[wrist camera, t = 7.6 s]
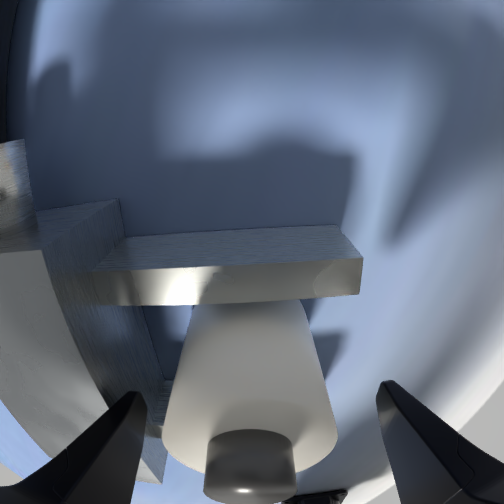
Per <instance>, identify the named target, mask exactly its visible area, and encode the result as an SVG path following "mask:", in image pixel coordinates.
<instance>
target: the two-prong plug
mask: <svg viewBox="0 0 504 504" xmlns="http://www.w3.org/2000/svg"><path fill="white" fill-rule="evenodd" d="M362 266H363V256H362V255H361V254H360V253H359V252H358V250H357V249H356V248H355V247H354V246H353V244H352V243H351V242H350V241H349V240H348V238H347V237H346V236H345V235H344V234H343V233H342V231H341V230H340V229H339V228H338V227H337V226H336V225H317V226H295V227H275V228H256V229H238V230H222V231H206V232H191V233H176V234H162V235H149V236H136V237H125V232H124V227H123V222H122V216H121V210H120V204H119V199H112V200H104V201H97V202H90V203H84V204H77V205H71V206H65V207H59V208H53V209H47V210H42V211H36V212H35V207H34V202H33V197H32V192H31V186H30V180H29V173H28V166H27V158H26V149H25V140H24V139H19V140H14V141H9V142H6V143H2V144H0V399H1V401H2V402H3V403H4V405H5V406H6V407H7V409H8V410H9V411H10V413H11V414H12V415H13V417H14V418H15V419H16V420H17V422H18V423H19V424H20V425H21V426H22V428H23V429H24V430H25V431H26V432H27V433H28V435H29V436H30V437H31V438H32V439H33V440H34V441H35V442H36V444H37V445H38V446H39V447H40V448H41V449H42V450H43V451H44V452H45V453H46V454H47V455H48V456H49V457H51V458H54V457H56V456H57V455H58V454H59V453H60V452H61V451H62V450H64V449H65V448H66V447H67V446H68V445H69V444H70V443H72V442H73V441H74V440H75V439H76V438H77V437H78V436H79V435H80V434H82V433H83V432H84V431H85V430H86V429H87V428H88V427H89V426H90V425H91V424H93V423H94V422H95V421H96V420H97V419H98V418H99V417H100V416H101V415H102V414H104V413H105V412H106V411H107V410H108V409H109V408H110V407H111V406H112V405H113V404H115V403H116V402H117V401H118V400H119V399H120V398H121V397H122V396H123V395H124V394H125V393H126V392H128V391H130V390H133V391H140V392H141V394H142V396H143V398H144V400H145V402H146V404H147V409H148V411H147V419H146V427H145V436H144V444H143V450H142V454H141V458H140V463H139V467H138V471H137V476H136V481H141V482H147V483H154V484H161V485H162V481H163V475H164V470H165V465H166V459H167V454H168V451H167V449H166V448H165V446H164V444H163V441H162V430H163V426H164V421H165V417H166V413H167V409H168V404H169V400H170V396H171V392H172V388H173V384H174V380H164V377H163V374H162V371H161V368H160V365H159V362H158V359H157V356H156V353H155V350H154V347H153V343H152V340H151V337H150V334H149V330H148V327H147V323H146V320H145V316H144V313H143V309H142V305H197V304H225V303H247V302H266V301H282V300H297V299H310V298H323V297H335V296H346V295H356V294H359V292H360V284H361V275H362Z"/></svg>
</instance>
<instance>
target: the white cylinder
mask: <svg viewBox="0 0 504 504" xmlns="http://www.w3.org/2000/svg"><path fill="white" fill-rule="evenodd" d="M337 438H338V432H337V427H336V423H335V419H334V415H333V412H332V408H331V404H330V400H329V396H328V392H327V388H326V385H325V381H324V377H323V373H322V370H321V366H320V362H319V359H318V355H317V351H316V348H315V344H314V341H313V337H312V334H311V330H310V327H309V323H308V320H307V316H306V313H305V310H304V307H303V305H302V303H301V302H300V300H299V299H297V300H282V301H266V302H247V303H225V304H197V305H195V306H194V309H193V311H192V315H191V318H190V322H189V326H188V329H187V333H186V337H185V341H184V344H183V348H182V352H181V356H180V360H179V364H178V368H177V372H176V376H175V380H174V384H173V388H172V392H171V396H170V400H169V404H168V409H167V413H166V417H165V421H164V426H163V430H162V441H163V444H164V446H165V448H166V449H167V451H168V452H169V453H170V454H171V455H172V456H173V457H174V458H175V459H176V460H178V461H179V462H181V463H182V464H184V465H185V466H187V467H189V468H191V469H194V470H196V471H198V472H201V473H204V474H205V478H204V489H203V492H204V494H205V495H206V496H207V497H209V498H211V499H213V500H215V501H218V502H221V503H226V504H274V503H278V502H281V501H284V500H287V499H289V498H291V497H293V496H294V495H295V494H296V493H297V481H296V473H297V472H300V471H302V470H305V469H307V468H309V467H311V466H313V465H315V464H316V463H318V462H320V461H321V460H322V459H324V458H325V457H326V456H327V455H328V454H329V453H330V452H331V451H332V449H333V448H334V446H335V444H336V442H337Z"/></svg>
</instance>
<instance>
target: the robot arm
mask: <svg viewBox="0 0 504 504" xmlns="http://www.w3.org/2000/svg"><path fill="white" fill-rule="evenodd" d="M376 405H377V410H378V416H379V421H380V427H381V432H382V437H383V441H384V445H385V448H386V451H387V455H388V458H389V461H390V465H391V468H392V472H393V475H394V479H395V483H396V486H397V490H398V494H399V498H400V501H401V504H504V463H502V462H500V461H499V460H497V459H495V458H494V457H492V456H490V455H489V454H487V453H485V452H484V451H482V450H481V449H479V448H478V447H476V446H475V445H474V444H472V443H471V442H470V441H468V440H467V439H465V438H464V437H463V436H462V435H460V434H459V433H458V432H457V431H455V430H454V429H453V428H452V427H450V426H449V425H448V424H447V423H445V422H444V421H443V420H442V419H441V418H439V417H438V416H437V415H436V414H434V413H433V412H432V411H431V410H429V409H428V408H427V407H426V406H424V405H423V404H422V403H421V402H419V401H418V400H417V399H416V398H415V397H413V396H412V395H411V394H410V393H408V392H407V391H406V390H405V389H403V388H402V387H401V386H400V385H399V384H397V383H396V382H395V381H393V380H388V381H383V382H381V384H380V387H379V390H378V392H377V395H376ZM147 411H148V409H147V404H146V402H145V400H144V398H143V396H142V394H141V392H140V391H133V390H130V391H128V392H126V393H125V394H124V395H123V396H122V397H121V398H120V399H119V400H118V401H117V402H116V403H115V404H113V405H112V406H111V407H110V408H109V409H108V410H107V411H106V412H105V413H104V414H102V415H101V416H100V417H99V418H98V419H97V420H96V421H95V422H94V423H93V424H91V425H90V426H89V427H88V428H87V429H86V430H85V431H84V432H83V433H82V434H80V435H79V436H78V437H77V438H76V439H75V440H74V441H73V442H72V443H70V444H69V445H68V446H67V447H66V448H65V449H64V450H62V451H61V452H60V453H59V454H58V455H57V456H56V457H54V458H53V459H52V460H51V461H49V462H48V463H47V464H45V465H44V466H43V467H41V468H40V469H38V470H37V471H35V472H34V473H32V474H31V475H30V476H28V477H27V478H25V479H24V480H22V481H20V482H19V483H17V484H14V485H11V486H2V487H1V486H0V504H130V503H131V498H132V494H133V489H134V485H135V480H136V476H137V471H138V467H139V463H140V458H141V454H142V450H143V444H144V436H145V427H146V419H147ZM347 494H348V492H347V490H340V491H335V492H329V493H323V494H316V495H308V496H300V497H291V498H289V499H287V500H284V501H281V504H341V503H342V502H343V500H344V499H345V497H346V496H347Z"/></svg>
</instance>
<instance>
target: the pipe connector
mask: <svg viewBox="0 0 504 504" xmlns="http://www.w3.org/2000/svg"><path fill="white" fill-rule="evenodd" d="M17 4H18V0H0V144H2V143H6V142H7V138H6V82H7V68H8V57H9V49H10V41H11V35H12V28H13V23H14V18H15V13H16V8H17Z"/></svg>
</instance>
